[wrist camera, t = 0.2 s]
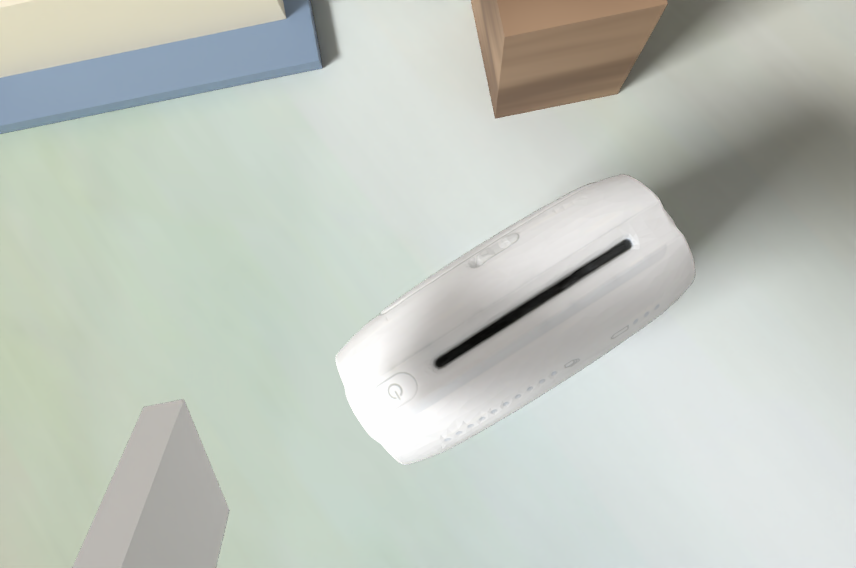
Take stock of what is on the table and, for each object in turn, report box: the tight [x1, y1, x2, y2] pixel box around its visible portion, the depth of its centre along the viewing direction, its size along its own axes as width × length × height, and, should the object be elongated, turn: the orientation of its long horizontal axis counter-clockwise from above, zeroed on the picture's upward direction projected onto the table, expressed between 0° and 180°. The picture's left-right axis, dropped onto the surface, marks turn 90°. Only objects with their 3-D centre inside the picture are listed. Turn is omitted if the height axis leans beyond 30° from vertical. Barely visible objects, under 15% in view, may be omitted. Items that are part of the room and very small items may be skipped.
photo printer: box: [336, 174, 695, 465], centre depth 25 cm, size 10×4×12 cm, turn 122°
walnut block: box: [471, 0, 668, 118], centre depth 28 cm, size 5×5×8 cm
